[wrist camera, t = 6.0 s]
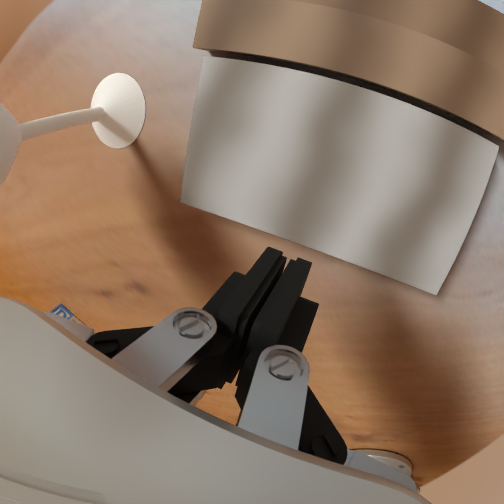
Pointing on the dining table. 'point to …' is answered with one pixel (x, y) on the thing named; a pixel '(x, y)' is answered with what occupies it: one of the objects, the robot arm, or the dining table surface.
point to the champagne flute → (82, 119)
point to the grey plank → (335, 168)
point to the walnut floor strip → (377, 46)
